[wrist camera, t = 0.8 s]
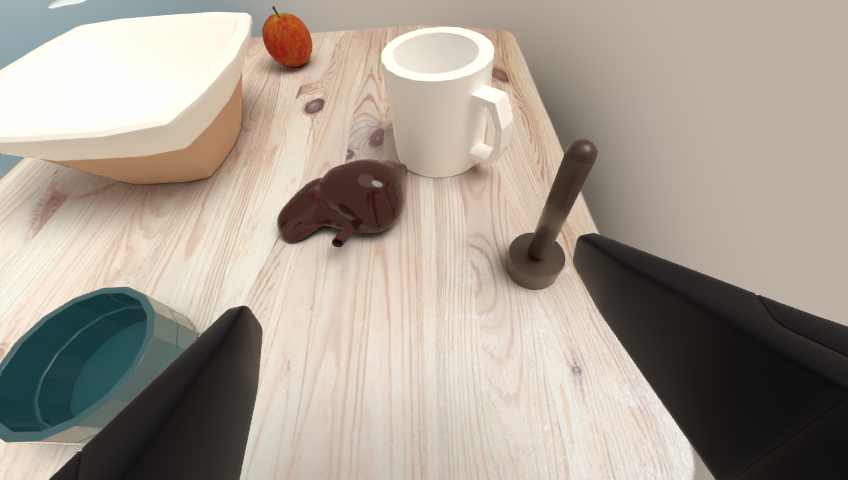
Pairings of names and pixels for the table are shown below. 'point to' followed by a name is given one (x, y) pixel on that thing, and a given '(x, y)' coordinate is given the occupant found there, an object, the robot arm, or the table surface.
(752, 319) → the robot arm
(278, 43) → the fruit
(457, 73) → the mug
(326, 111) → the table surface
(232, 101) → the bowl
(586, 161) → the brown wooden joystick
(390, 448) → the table surface
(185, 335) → the stir bowl
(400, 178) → the liver model
